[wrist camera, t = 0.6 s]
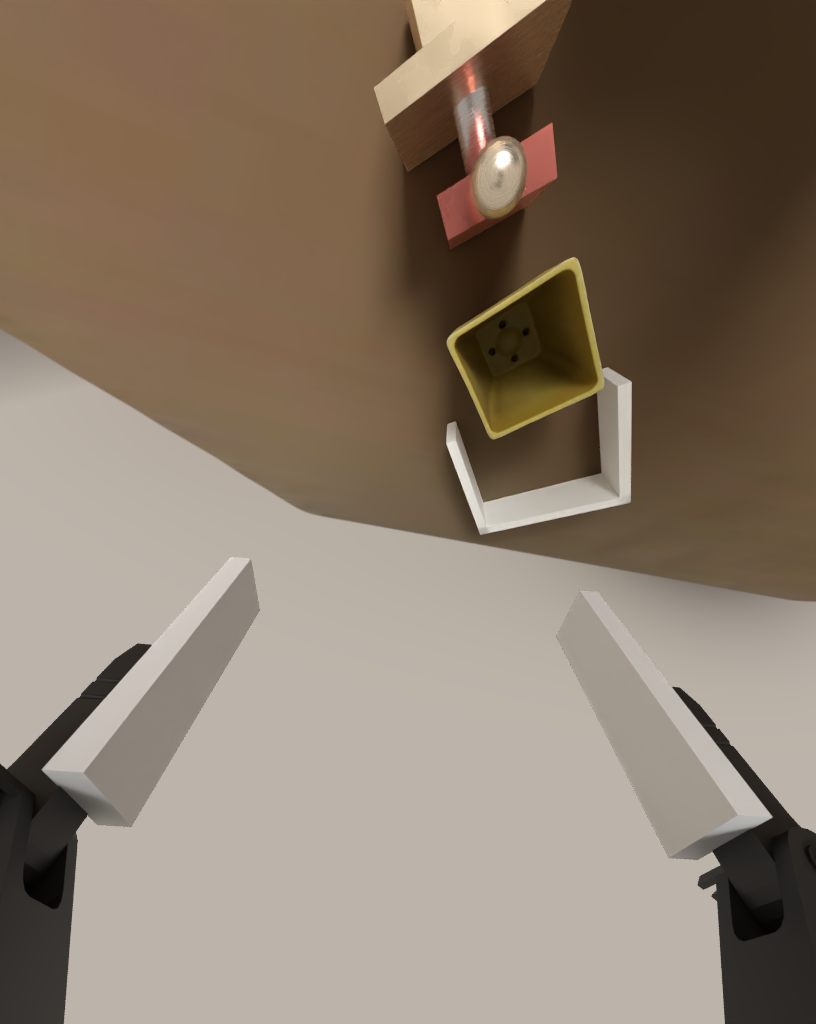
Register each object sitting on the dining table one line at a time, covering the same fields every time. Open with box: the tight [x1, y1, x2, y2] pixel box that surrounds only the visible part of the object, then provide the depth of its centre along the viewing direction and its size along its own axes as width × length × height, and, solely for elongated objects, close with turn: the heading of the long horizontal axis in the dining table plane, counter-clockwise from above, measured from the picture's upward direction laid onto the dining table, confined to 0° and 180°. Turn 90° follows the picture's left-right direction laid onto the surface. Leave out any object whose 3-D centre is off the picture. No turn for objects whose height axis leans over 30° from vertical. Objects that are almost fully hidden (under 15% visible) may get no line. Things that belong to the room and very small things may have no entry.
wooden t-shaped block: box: [374, 0, 573, 250], centre depth 15 cm, size 9×13×11 cm
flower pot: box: [447, 257, 604, 439], centre depth 25 cm, size 9×9×9 cm
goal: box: [446, 367, 632, 535], centre depth 32 cm, size 16×13×5 cm
